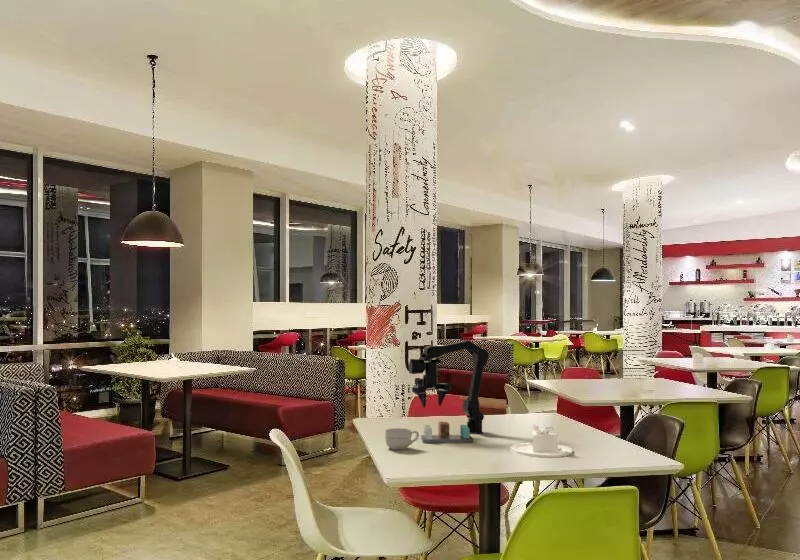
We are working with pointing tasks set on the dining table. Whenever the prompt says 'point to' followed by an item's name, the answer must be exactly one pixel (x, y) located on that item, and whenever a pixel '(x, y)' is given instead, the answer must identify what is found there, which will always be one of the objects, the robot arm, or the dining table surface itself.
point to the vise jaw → (465, 431)
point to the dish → (542, 445)
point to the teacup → (399, 438)
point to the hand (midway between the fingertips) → (431, 406)
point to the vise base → (443, 437)
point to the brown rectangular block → (443, 428)
